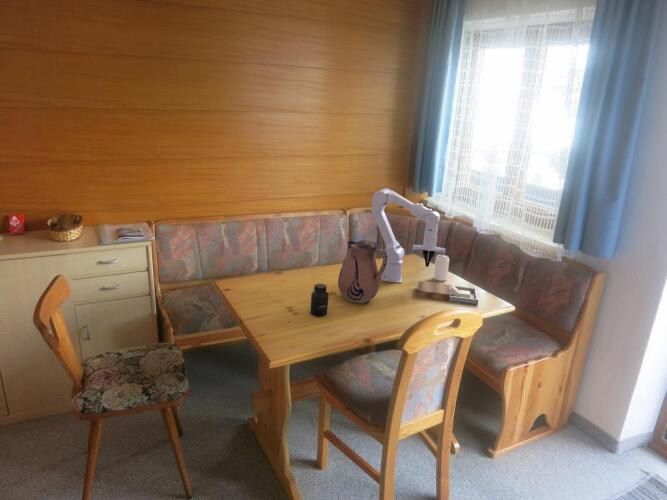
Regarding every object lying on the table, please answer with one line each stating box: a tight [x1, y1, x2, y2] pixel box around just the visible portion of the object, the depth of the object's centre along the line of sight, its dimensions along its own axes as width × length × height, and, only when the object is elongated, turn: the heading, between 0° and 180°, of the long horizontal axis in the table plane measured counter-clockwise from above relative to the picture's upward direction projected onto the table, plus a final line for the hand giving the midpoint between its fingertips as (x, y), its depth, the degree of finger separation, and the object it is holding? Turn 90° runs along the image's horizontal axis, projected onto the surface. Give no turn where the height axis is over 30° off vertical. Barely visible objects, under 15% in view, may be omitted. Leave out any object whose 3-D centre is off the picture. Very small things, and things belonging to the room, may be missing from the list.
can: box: [433, 253, 450, 282], centre depth 236 cm, size 6×6×12 cm
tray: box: [448, 285, 479, 306], centre depth 216 cm, size 12×14×2 cm
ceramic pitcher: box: [337, 239, 388, 304], centre depth 204 cm, size 18×21×25 cm
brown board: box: [416, 280, 451, 302], centre depth 218 cm, size 14×12×3 cm
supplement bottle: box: [309, 283, 329, 318], centre depth 191 cm, size 7×7×12 cm
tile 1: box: [449, 283, 460, 297], centre depth 216 cm, size 4×4×2 cm
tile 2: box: [459, 290, 470, 298], centre depth 216 cm, size 4×4×2 cm
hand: (427, 266), depth 225 cm, fingers closed
